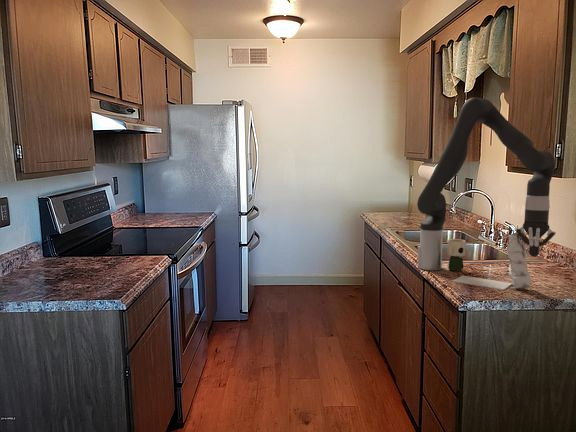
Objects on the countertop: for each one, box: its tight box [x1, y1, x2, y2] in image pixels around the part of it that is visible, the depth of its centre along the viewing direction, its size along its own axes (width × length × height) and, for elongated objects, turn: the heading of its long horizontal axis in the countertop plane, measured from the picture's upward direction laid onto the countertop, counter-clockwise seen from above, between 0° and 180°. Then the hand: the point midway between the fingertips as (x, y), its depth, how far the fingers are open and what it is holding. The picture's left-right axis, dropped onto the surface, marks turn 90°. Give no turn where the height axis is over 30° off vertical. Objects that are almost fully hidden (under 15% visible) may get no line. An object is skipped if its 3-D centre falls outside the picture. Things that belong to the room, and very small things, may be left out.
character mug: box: [447, 238, 467, 272], centre depth 202 cm, size 11×7×13 cm, turn 133°
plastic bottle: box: [506, 232, 532, 290], centre depth 174 cm, size 6×7×20 cm
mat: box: [452, 275, 513, 291], centre depth 183 cm, size 19×10×1 cm, turn 49°
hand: (534, 256), depth 170 cm, fingers closed
